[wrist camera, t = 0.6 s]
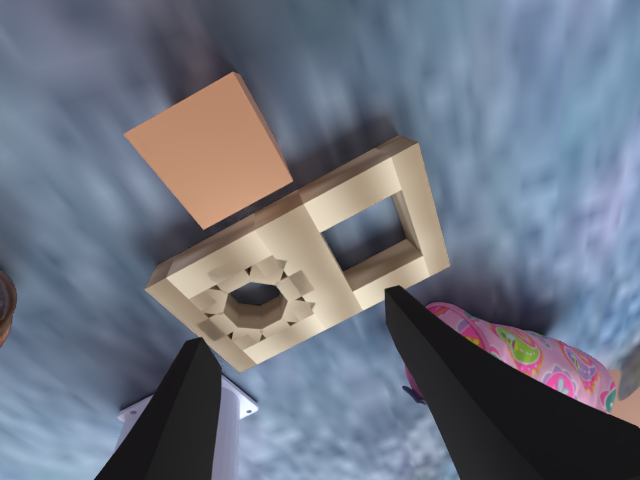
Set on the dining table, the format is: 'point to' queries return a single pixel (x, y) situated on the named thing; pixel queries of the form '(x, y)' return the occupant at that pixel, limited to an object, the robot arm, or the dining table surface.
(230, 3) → the dining table surface
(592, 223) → the dining table surface
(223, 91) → the peg
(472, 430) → the robot arm
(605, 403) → the pencil case
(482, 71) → the dining table surface
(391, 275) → the socket plate
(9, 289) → the tin
